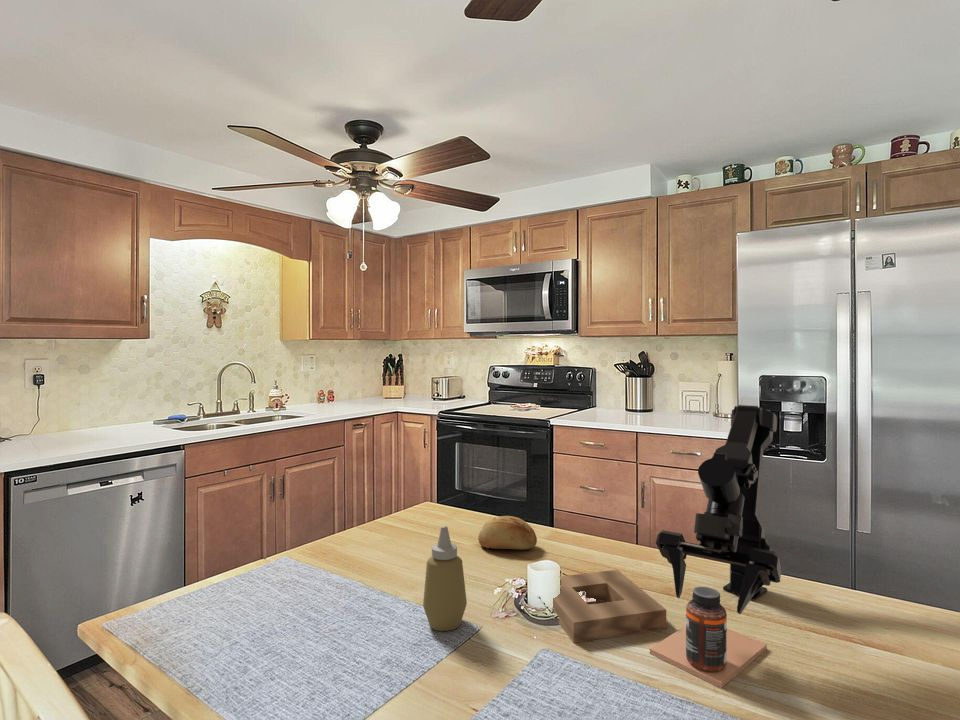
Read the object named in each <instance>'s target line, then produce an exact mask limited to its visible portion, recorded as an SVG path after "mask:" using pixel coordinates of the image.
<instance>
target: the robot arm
mask: <svg viewBox="0 0 960 720" xmlns="http://www.w3.org/2000/svg"><path fill="white" fill-rule="evenodd" d="M777 427H778V416H777V415H776V414H775V412H773V411H771V410H770V409H763V408H762V407H761V406H760V407H759V406H758V405H749V404H748V405H747V404H746V405H744V404H738V405H735V406H734V409H732V410H731V415H730V429H729V432H728V436H727V439H726V442H725V443H724V445H722V446H720V447H718V448H716V449H715V451H714V453H713V454H712V457H711V458H708V459H705V460H704V461H703V462H702V463H701V464H700V466H698V467H697V468H698V469H697V470H698V471H697V473H698V474H697V475H698V477H699V481H700V484H701V487H702V489H703V492H704V495H705V497H706V498H707V503H706V504H707V505H706V509H705V511H704V513H699V512H696V513H695V519H694V528H693V533H694V534H695V539H696V541H698V542H699V544H697V543H692V542H687V541H686V540H685V537H684V535H683V533H680V532H674V531H669V530H660V532H659V533H657V536H656V539H655V540H656V541H655V544H656V546H657V548H658V551H659V553H660V555H661V556H662V558H664V559H666V560H667V562H668V563H669V564H671V566H672V567H671V568H672V573H673V580H674V581H673V582H674V589H675V596H676V598H677V599H680V598H681V596H682V592H683V588H684V582H685V581H684V580H685V577H686V575H685V574H686V570H687V569H686V568H687V564H686V563H687V562H686V561H685V560H686V559H687V556H688V555H689V556H694V557H698V558H699V557H700V558H703V559H708V560H713V561H718V562H723V563H727V564H729V583H727V584H724V585H723V587H722V589H723V591H726V592H729V593H733V594H735V595H738V601H737V607H736V608H737V609H736V613H737V614H739V615H742V614H743V611H744V610H745V608H746V607H747V605H749V603H750V601H751V600H753V601H756V600H757V599H758V598H760V597H761V596H762V595H764V594H766V593H767V592H768V588H767V587H765V586H770V585H771V583H775V584H777V583H780V582H781V576H782V567H781V562H780V557H779V555H778V554H777V552H775V551H772V549H771V546H770V545H769V542H768V538H766V531H765V529H764V527H763V525H762V523H761V522H760V520H759V518H758V517H759V516H758V515H759V508H760V507H759V506H760V493H761V481H762V472H763V471H762V470H763V459H764V451H765V450H766V449H767V448H768V447H769V446H770V445H771V443H772V442H773V438H774V433H776V432H777V430H778V429H777Z"/></svg>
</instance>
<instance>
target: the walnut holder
mask: <svg viewBox="0 0 960 720" xmlns="http://www.w3.org/2000/svg"><path fill="white" fill-rule="evenodd" d="M580 591H585V592H586V597H587V598H594V599H596V602H601V603H596V602H595V603H592V604H589V603H586V602H585V601H584V600H583V599H582V598H581V596H580V595H579V594H578V593H577V592H580ZM603 601H607V602H603ZM553 608H554V611H555V613H556V614H557V615H558V616H559V620H560V621H559V623H558V624H559V626H560V627H561V629H563V631H564V632H565V633H566V635H567V636H568V638H569V639H570V640H571V641H572V643H573V644H575V643H580V642H588V641H594V640H601V639H607V638H608V639H609V638H614V637H615V638H616V637H621V636H626V635H628V636H629V635H634V634H641V633H647V632H648V633H649V632H654V631H660V630H661V631H662V630H666V629H667V609H666V608H665V607H664V606H663V605H662V604H660V603H659V602H658V601H656V599H654V598H653V597H652V596H651V595H649V594H648V593H647V592H646V591H645V590H643V589H642V588H640V587H639V586H638V585H637V584H636V583H635V582H633V581H632V580H631V579H630V578H628V577H627V576H626V575H625V574H623V572H621V571H620V570H618V569H612V570H605V571H603V570H602V571H596V572H594V571H593V572H587V573H585V572H584V573H579V574H577V573H576V574H570V575H569V574H568V575H561V591H560V594H559V595H558V596H557V597H555V598H553Z"/></svg>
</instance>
